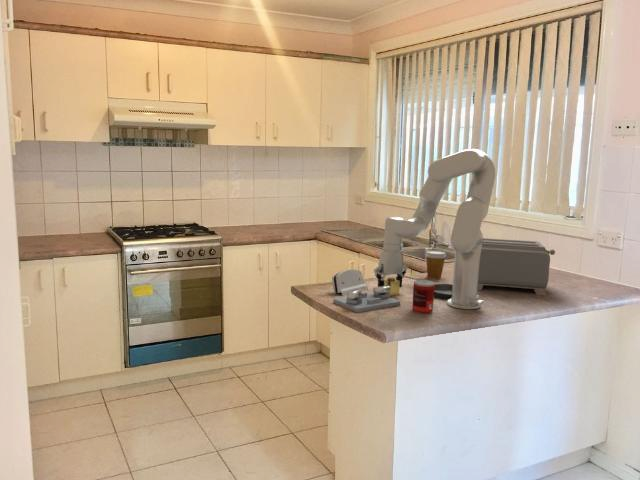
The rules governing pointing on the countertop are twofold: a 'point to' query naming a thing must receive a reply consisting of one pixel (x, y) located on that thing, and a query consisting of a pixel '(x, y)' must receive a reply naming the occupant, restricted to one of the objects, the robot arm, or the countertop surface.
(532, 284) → the toaster
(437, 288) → the frying pan
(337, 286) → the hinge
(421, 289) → the canned food
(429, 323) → the countertop surface
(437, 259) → the disposable coffee cup
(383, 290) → the shaft
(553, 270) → the countertop surface
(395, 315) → the countertop surface
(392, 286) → the coupler
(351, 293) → the shaft
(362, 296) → the board
